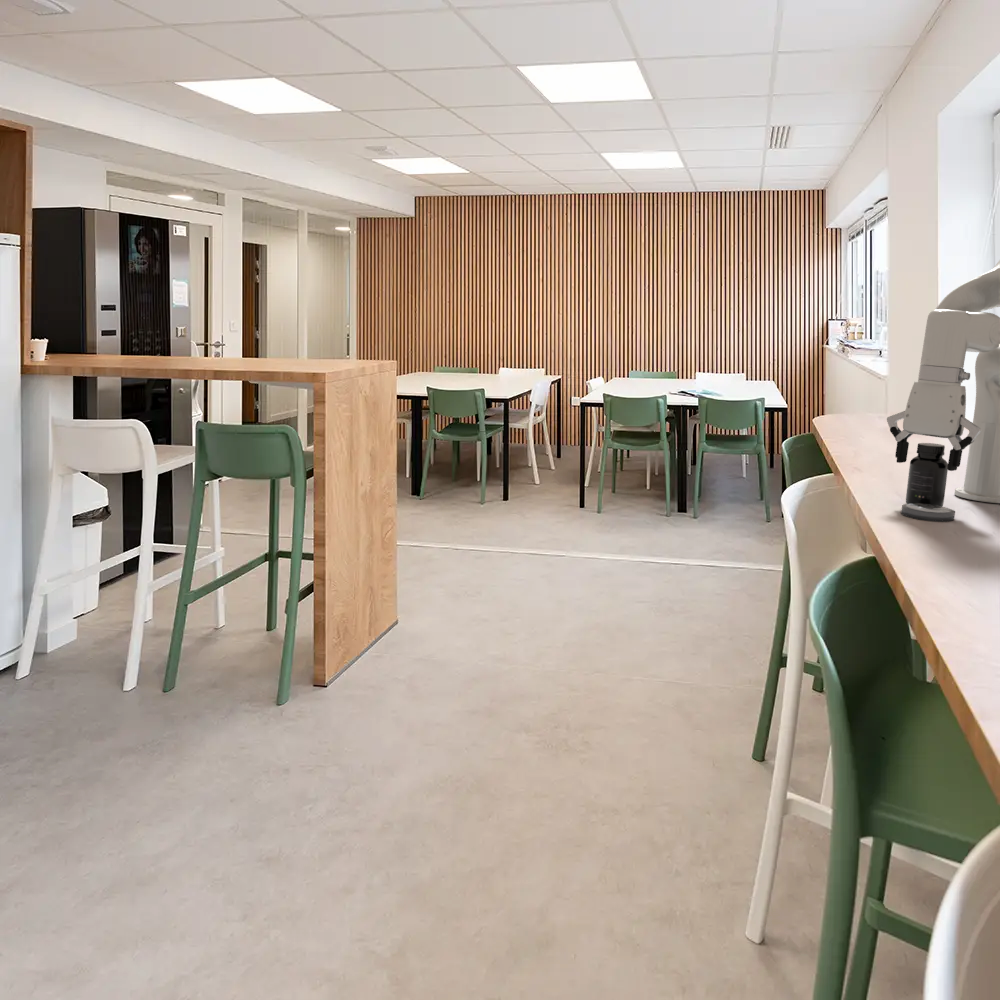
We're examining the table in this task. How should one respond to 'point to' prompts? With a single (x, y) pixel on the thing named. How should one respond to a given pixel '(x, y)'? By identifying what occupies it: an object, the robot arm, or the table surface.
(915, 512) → the plate
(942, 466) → the supplement bottle
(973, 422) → the robot arm
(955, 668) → the table surface
